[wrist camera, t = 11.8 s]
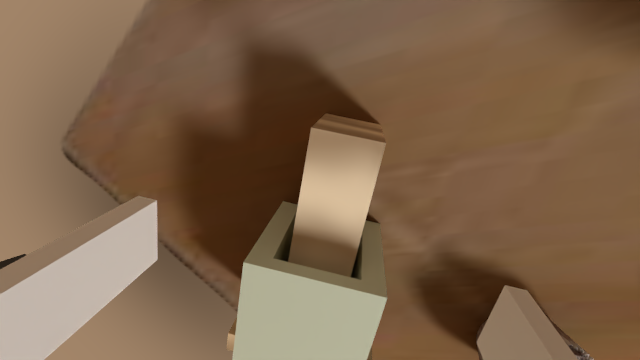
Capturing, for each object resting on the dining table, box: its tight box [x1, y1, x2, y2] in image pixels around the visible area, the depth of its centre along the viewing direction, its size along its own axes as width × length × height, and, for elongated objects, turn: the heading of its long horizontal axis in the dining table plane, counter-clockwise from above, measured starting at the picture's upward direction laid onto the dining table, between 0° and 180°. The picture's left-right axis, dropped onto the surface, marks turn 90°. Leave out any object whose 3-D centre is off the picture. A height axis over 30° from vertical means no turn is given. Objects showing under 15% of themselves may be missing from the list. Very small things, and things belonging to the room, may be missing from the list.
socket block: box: [232, 201, 387, 360], centre depth 27 cm, size 10×10×11 cm
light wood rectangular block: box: [288, 113, 386, 277], centre depth 26 cm, size 16×5×8 cm, turn 169°
